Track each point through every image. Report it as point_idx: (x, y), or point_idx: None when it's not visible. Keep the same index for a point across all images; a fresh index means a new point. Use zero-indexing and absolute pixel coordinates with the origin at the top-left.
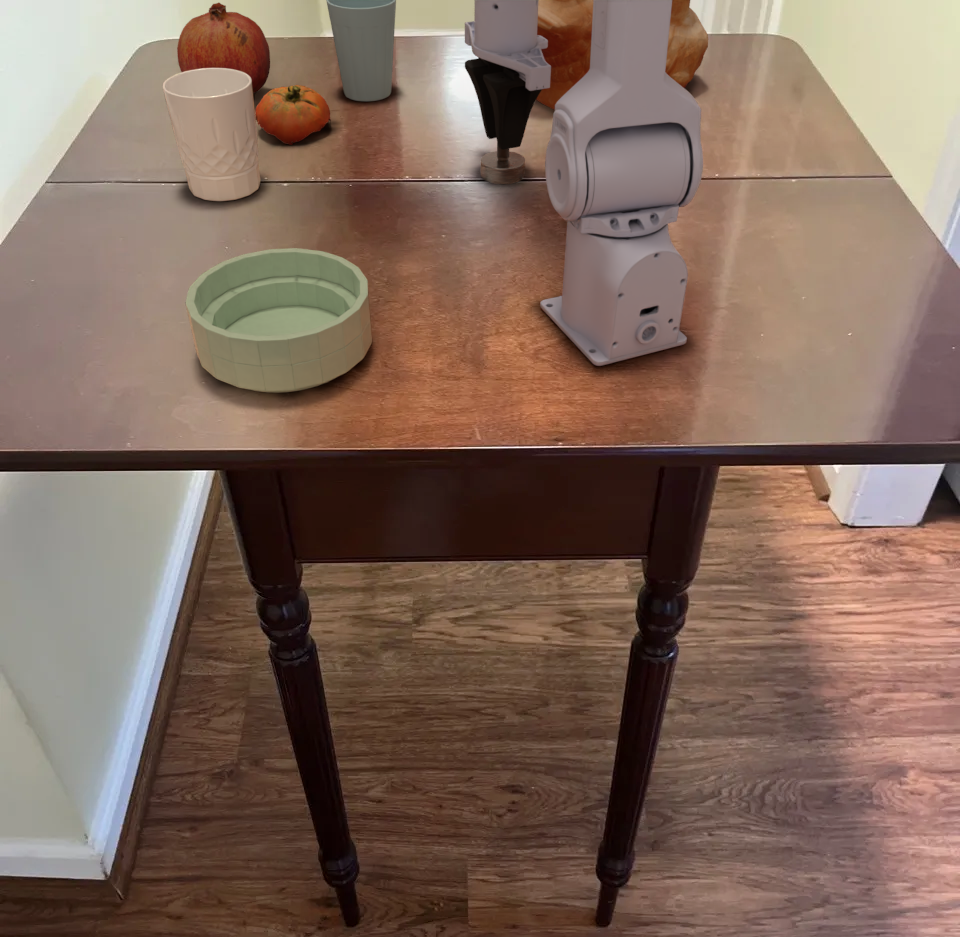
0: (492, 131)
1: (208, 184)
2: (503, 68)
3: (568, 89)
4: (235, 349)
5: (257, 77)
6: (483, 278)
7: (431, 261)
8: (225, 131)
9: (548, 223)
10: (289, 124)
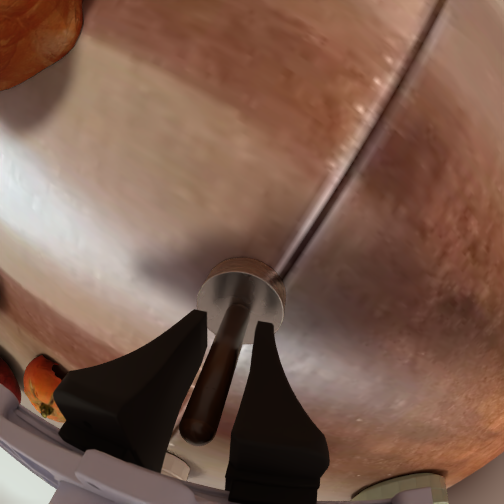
0: (202, 349)
1: None
2: (143, 441)
3: (29, 45)
4: None
5: (6, 382)
6: (445, 416)
7: (389, 437)
8: None
9: (429, 324)
10: None
